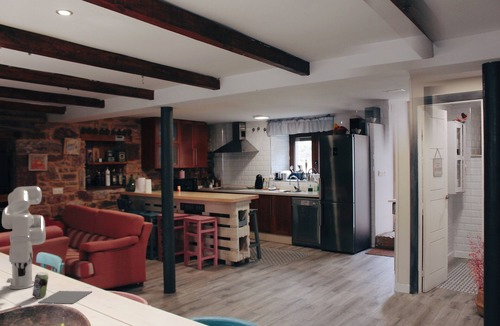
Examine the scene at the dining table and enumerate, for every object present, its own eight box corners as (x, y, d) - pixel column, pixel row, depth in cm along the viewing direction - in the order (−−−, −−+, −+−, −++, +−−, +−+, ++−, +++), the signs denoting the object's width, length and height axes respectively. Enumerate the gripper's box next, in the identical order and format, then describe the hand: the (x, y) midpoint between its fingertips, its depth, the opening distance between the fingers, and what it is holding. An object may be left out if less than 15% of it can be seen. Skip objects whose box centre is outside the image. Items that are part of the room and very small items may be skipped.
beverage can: (33, 296, 210) (32, 272, 210) (49, 294, 212) (48, 270, 212) (31, 299, 204) (31, 275, 204) (48, 297, 206) (47, 273, 206)
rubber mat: (37, 303, 198) (37, 302, 198) (59, 291, 216) (59, 290, 216) (73, 303, 196) (73, 303, 196) (92, 292, 214) (91, 291, 214)
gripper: (2, 240, 206) (2, 277, 206) (30, 240, 204) (30, 277, 204) (12, 238, 214) (13, 274, 213) (39, 238, 212) (40, 274, 211)
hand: (21, 275), depth 209 cm, fingers closed
